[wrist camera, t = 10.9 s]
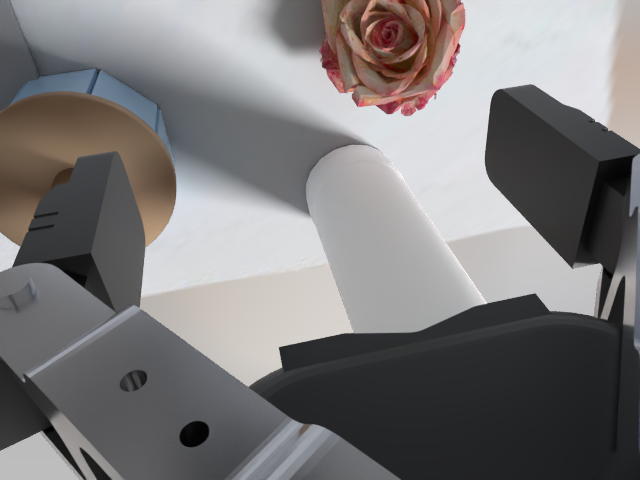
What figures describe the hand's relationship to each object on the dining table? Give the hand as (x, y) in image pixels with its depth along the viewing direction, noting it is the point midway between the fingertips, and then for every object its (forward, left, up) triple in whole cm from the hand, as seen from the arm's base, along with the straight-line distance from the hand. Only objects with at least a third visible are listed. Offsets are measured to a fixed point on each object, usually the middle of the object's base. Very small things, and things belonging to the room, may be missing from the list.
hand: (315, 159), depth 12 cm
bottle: (+18, +7, -28) cm, 34 cm away
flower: (+5, +9, -28) cm, 30 cm away
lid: (+11, -12, -23) cm, 28 cm away
